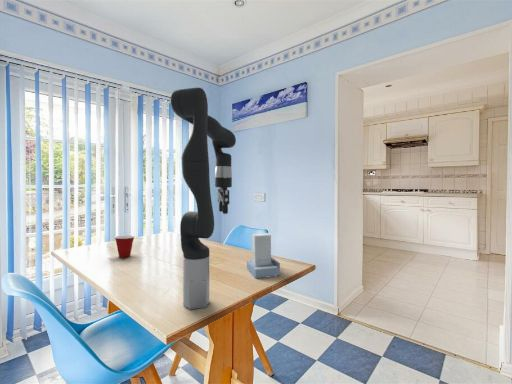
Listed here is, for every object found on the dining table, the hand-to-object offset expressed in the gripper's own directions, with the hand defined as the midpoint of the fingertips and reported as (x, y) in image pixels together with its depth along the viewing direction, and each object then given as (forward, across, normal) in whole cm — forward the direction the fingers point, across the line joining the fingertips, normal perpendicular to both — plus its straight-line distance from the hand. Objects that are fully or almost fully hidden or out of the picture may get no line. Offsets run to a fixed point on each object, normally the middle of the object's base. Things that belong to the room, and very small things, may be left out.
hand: (223, 212), depth 120 cm
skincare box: (+26, -2, +19) cm, 33 cm away
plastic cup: (+30, -50, -48) cm, 76 cm away
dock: (+30, -2, +20) cm, 36 cm away
